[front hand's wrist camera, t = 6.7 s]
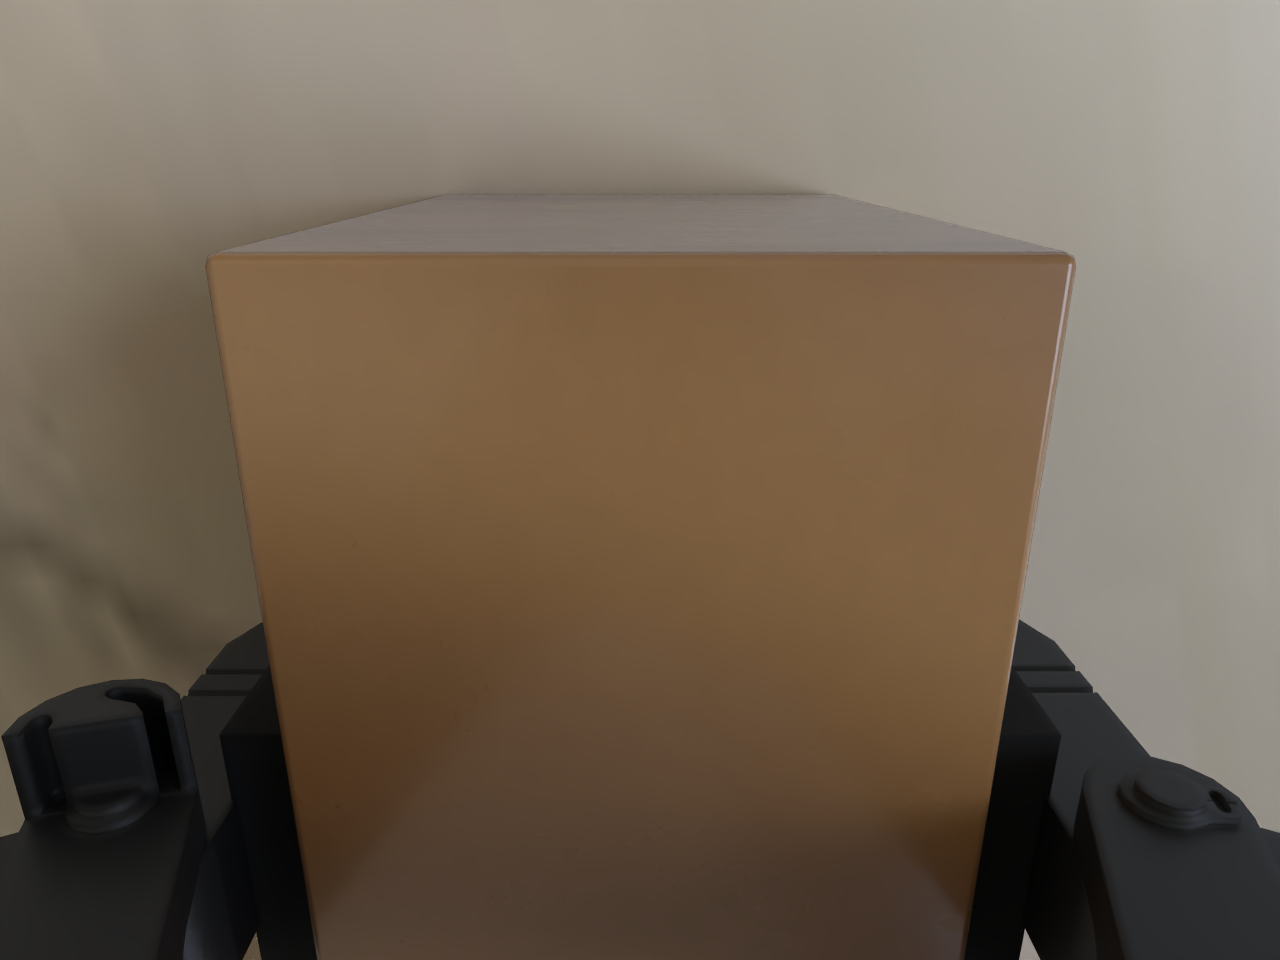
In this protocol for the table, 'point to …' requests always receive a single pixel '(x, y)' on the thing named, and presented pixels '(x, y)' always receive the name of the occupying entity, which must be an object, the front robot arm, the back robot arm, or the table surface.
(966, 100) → the table surface
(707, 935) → the post
